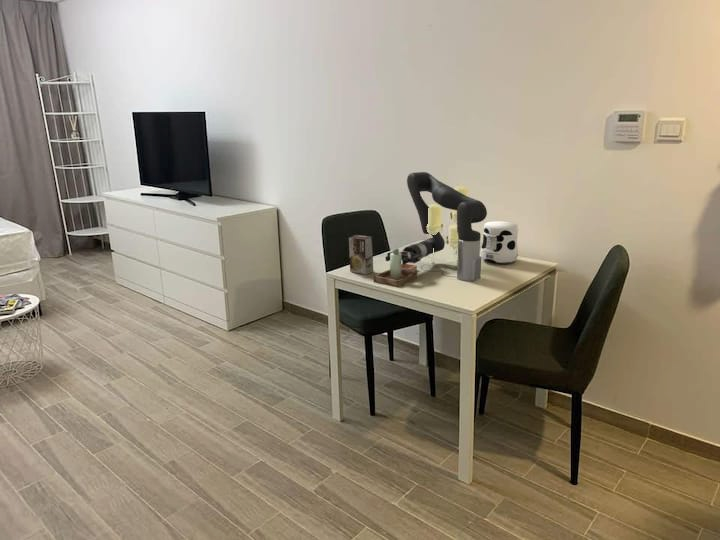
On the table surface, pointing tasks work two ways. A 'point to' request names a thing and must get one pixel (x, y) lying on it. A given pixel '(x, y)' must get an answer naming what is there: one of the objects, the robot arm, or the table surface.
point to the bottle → (395, 265)
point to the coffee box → (361, 254)
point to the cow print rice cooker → (499, 242)
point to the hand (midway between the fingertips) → (394, 260)
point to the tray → (385, 279)
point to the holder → (409, 267)
